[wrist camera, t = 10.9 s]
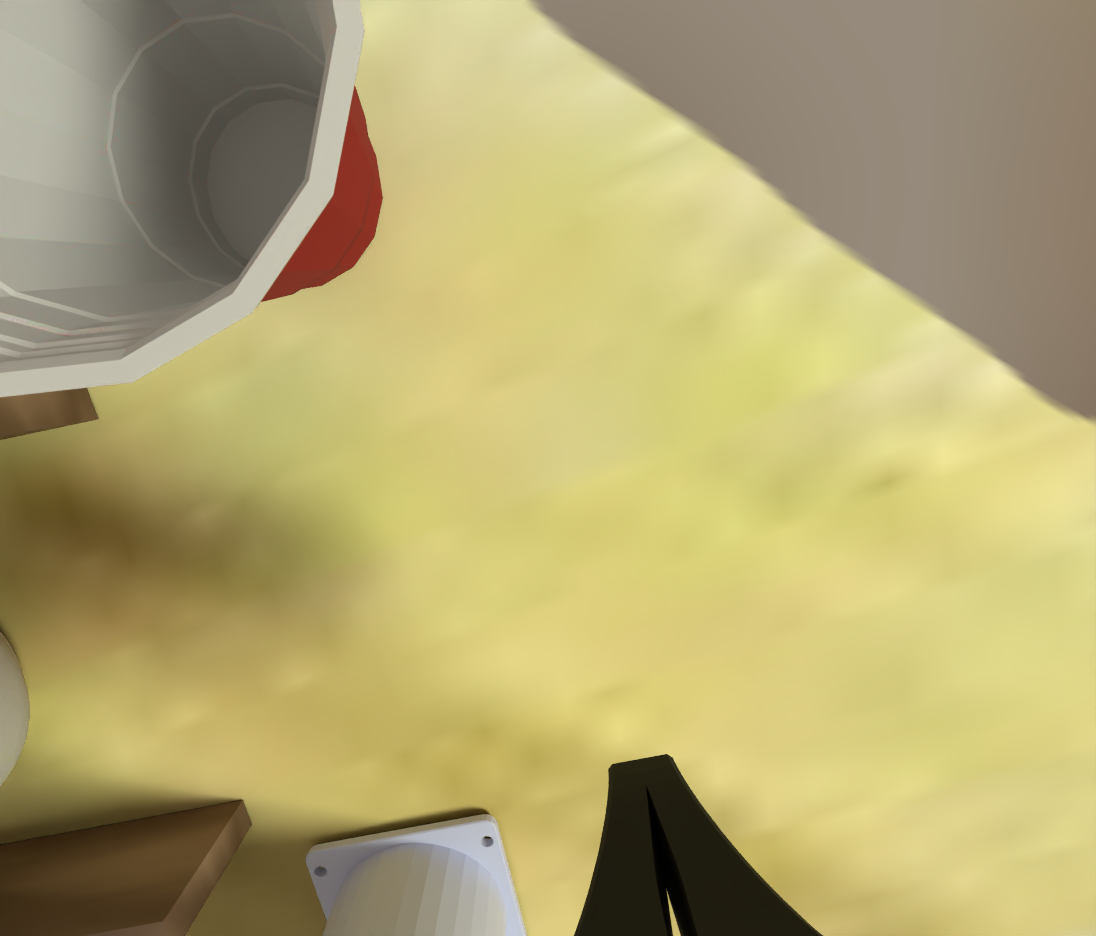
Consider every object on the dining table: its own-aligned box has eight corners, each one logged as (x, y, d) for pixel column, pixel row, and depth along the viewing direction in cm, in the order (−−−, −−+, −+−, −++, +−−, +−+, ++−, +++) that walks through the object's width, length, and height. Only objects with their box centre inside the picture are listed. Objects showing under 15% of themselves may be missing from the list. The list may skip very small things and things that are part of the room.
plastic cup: (385, 421, 20) (165, 533, 8) (85, 272, 19) (-661, 156, 7) (526, 119, 18) (497, -294, 6) (200, -70, 17) (-577, -1008, 5)
